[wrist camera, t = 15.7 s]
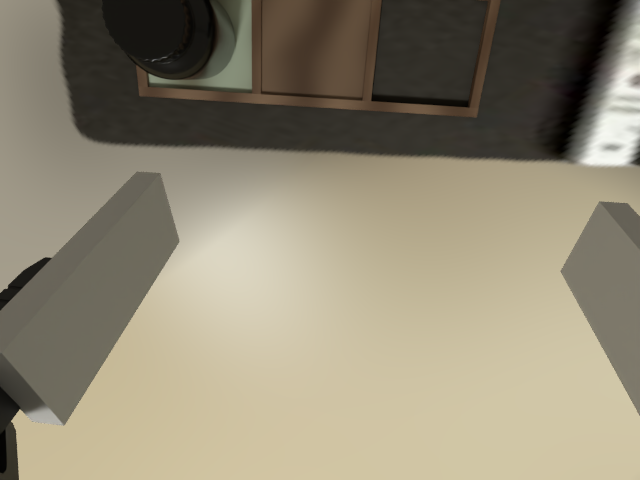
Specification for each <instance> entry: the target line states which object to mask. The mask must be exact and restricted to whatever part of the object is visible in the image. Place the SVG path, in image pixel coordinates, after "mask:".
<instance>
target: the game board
mask: <svg viewBox="0 0 640 480" xmlns="http://www.w3.org/2000/svg"><path fill="white" fill-rule="evenodd" d="M218 1H219V2H220V4H221V5H222V6H223V7H224V8H225V10H226V11H227V13H228V15H229V17H230V19H231V21H232V24H233V27H234V32H235V49H234V53H233V56H232V58H231V60H230V62H229V64H228V65H227V66H226V68H225V69H224V70H223V71H222V72H220V73H219V74H217V75H215V76H213V77H211V78H207V79H200V80H168V79H163V78H159V77H156V76H153V75H151V74H149V73H147V72H145V71H144V70H142V69H141V68H140V67H138V66H137V65H136V68H137V77H138V86H139V95H140V96H148V97H164V98H180V99H196V100H211V101H227V102H243V103H259V104H275V105H290V106H306V107H322V108H338V109H354V110H370V111H385V112H401V113H417V114H433V115H449V116H464V117H477V112H478V107H479V102H480V98H481V93H482V88H483V83H484V78H485V73H486V69H487V64H488V59H489V54H490V49H491V44H492V40H493V35H494V30H495V25H496V20H497V15H498V11H499V6H500V1H501V0H482V1H488V5H487V10H486V15H485V20H484V25H483V30H482V35H481V40H480V45H479V50H478V56H477V61H476V66H475V71H474V76H473V81H472V86H471V91H470V96H469V101H468V106H467V107H455V106H440V105H424V104H409V103H393V102H378V101H371V97H372V88H373V78H374V69H375V59H376V50H377V40H378V31H379V21H380V12H381V2H382V0H218Z"/></svg>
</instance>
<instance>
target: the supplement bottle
mask: <svg viewBox="0 0 640 480" xmlns="http://www.w3.org/2000/svg"><path fill="white" fill-rule="evenodd" d="M102 1H103V5H102V11H103V19H104V20H105V26H106V28H107V29H108V30H109V34H110V36H111V37H112V38H113V39H114V41H115V43H116V44H118V45H119V46H120V48H121V49H122V50H124V52H125V53H126V54H127V56H128V57H129V58H130V59H131V60H132V61H133V62H134V63H135V64H136V65H137V66H138V67H140V68H141V69H142V70H144V71H145V72H147V73H149V74H151V75H153V76H156V77H159V78H163V79H168V80H200V79H207V78H211V77H213V76H215V75H217V74H219V73H220V72H222V71H223V70H224V69H225V68H226V66H227V65H228V64H229V62H230V60H231V58H232V56H233V53H234V49H235V32H234V27H233V24H232V21H231V19H230V17H229V15H228V13H227V11H226V10H225V8H224V7H223V6H222V5H221V4H220V2H219V1H218V0H102Z"/></svg>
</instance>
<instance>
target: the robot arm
mask: <svg viewBox="0 0 640 480" xmlns="http://www.w3.org/2000/svg"><path fill="white" fill-rule="evenodd" d="M178 243H179V238H178V234H177V231H176V227H175V223H174V220H173V216H172V213H171V209H170V206H169V202H168V199H167V195H166V192H165V188H164V185H163V181H162V178H161V174H160V173H149V172H136V173H135V174H134V175H133V176H132V177H131V178H130V179H129V180H128V181H127V182H126V184H124V185H123V186H122V187H121V188H120V189H119V190H118V191H117V193H116V194H115V195H114V196H113V197H112V198H111V199H110V200H109V201H108V202H107V203H106V204H105V205H104V206H103V207H102V208H101V209H100V210H99V211H98V212H97V213H96V214H95V215H94V216H93V217H92V218H91V219H90V220H89V221H88V222H87V223H86V224H85V225H84V226H83V227H82V228H81V229H80V230H79V231H78V232H77V233H76V234H75V235H74V236H73V237H72V238H71V239H70V240H69V241H68V243H66V244H65V245H64V246H63V247H62V248H61V249H60V250H59V252H58V253H57V254H56V255H55V256H54V257H53V258H43V259H42V260H40V261H38V262H37V263H35V264H33V265H32V266H30V267H28V268H27V269H25V270H24V271H23V272H22V273H21V274H20V275H18V276H17V278H15V279H14V280H13V281H12V282H11V283H10V284H9V285H8V289H4V290H3V291H2V292H1V293H0V480H19V475H18V458H17V442H16V430H15V428H14V425H13V423H12V422H11V420H12V419H13V417H14V416H15V415H16V413H17V412H18V411H19V409H21V410H22V411H23V412H24V413H25V414H26V416H28V418H29V419H30V420H31V421H32V422H38V423H47V424H56V425H65V424H66V422H67V420H68V419H69V417H70V416H71V414H72V412H73V411H74V409H75V408H76V406H77V404H78V403H79V401H80V400H81V398H82V396H83V395H84V393H85V392H86V390H87V388H88V387H89V385H90V384H91V382H92V380H93V379H94V377H95V376H96V374H97V372H98V371H99V369H100V368H101V366H102V364H103V363H104V361H105V360H106V358H107V357H108V355H109V353H110V352H111V350H112V348H113V347H114V345H115V344H116V342H117V340H118V339H119V337H120V336H121V334H122V333H123V331H124V329H125V328H126V326H127V325H128V323H129V321H130V320H131V318H132V317H133V315H134V313H135V312H136V310H137V309H138V307H139V305H140V304H141V302H142V300H143V299H144V297H145V296H146V294H147V292H148V291H149V289H150V288H151V286H152V285H153V283H154V281H155V280H156V278H157V276H158V275H159V273H160V272H161V270H162V269H163V267H164V265H165V264H166V262H167V261H168V259H169V257H170V256H171V254H172V253H173V251H174V249H175V248H176V246H177V245H178ZM561 273H562V275H563V276H564V278H565V280H566V282H567V284H568V286H569V287H570V289H571V291H572V293H573V295H574V297H575V298H576V300H577V302H578V304H579V306H580V308H581V309H582V311H583V313H584V315H585V316H586V318H587V320H588V322H589V324H590V326H591V328H592V329H593V331H594V333H595V335H596V336H597V339H598V340H599V342H600V344H601V346H602V348H603V349H604V351H605V353H606V355H607V357H608V358H609V360H610V362H611V364H612V366H613V368H614V369H615V371H616V373H617V375H618V377H619V379H620V380H621V382H622V384H623V386H624V388H625V390H626V391H627V393H628V395H629V397H630V399H631V401H632V402H633V404H634V406H635V408H636V409H637V411H638V413H639V415H640V216H639V215H638V214H637V213H636V212H635V211H634V210H633V209H632V208H631V207H630V206H629V205H628V204H627V203H614V202H599V203H598V205H597V207H596V208H595V210H594V212H593V214H592V216H591V217H590V219H589V221H588V223H587V225H586V226H585V228H584V230H583V232H582V234H581V235H580V237H579V239H578V241H577V243H576V244H575V246H574V248H573V250H572V252H571V253H570V255H569V257H568V259H567V261H566V263H565V264H564V266H563V268H562V270H561Z"/></svg>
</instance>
